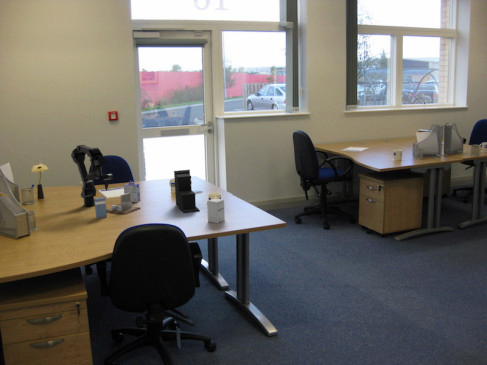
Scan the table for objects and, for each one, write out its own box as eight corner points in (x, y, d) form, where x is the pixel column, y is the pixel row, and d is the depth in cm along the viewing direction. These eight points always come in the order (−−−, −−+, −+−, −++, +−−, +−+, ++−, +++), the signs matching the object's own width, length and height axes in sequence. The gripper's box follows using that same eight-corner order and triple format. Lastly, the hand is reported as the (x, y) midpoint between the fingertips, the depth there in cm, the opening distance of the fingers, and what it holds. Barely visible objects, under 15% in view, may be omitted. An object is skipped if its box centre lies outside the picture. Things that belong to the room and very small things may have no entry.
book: (96, 217, 288) (94, 198, 286) (105, 215, 291) (104, 197, 289) (97, 218, 286) (95, 199, 283) (107, 216, 289) (105, 198, 286)
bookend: (200, 211, 295) (198, 175, 290) (183, 213, 291) (181, 176, 287) (191, 203, 316) (189, 169, 312) (175, 205, 313) (173, 170, 308)
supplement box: (218, 223, 267) (217, 202, 265) (207, 221, 271) (206, 200, 269) (225, 220, 274) (224, 199, 271) (214, 218, 277) (214, 198, 275)
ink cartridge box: (140, 200, 329) (139, 180, 326) (138, 202, 324) (136, 182, 321) (127, 200, 330) (125, 180, 327) (124, 202, 325) (122, 182, 322)
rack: (104, 211, 302) (102, 194, 300) (119, 206, 314) (118, 190, 312) (125, 214, 294) (123, 197, 291) (140, 208, 306) (138, 192, 303)
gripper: (76, 170, 296) (80, 194, 297) (101, 166, 291) (105, 191, 292) (86, 168, 307) (90, 191, 308) (111, 165, 301) (115, 188, 302)
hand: (100, 191), depth 302 cm, fingers open, 9 cm apart
